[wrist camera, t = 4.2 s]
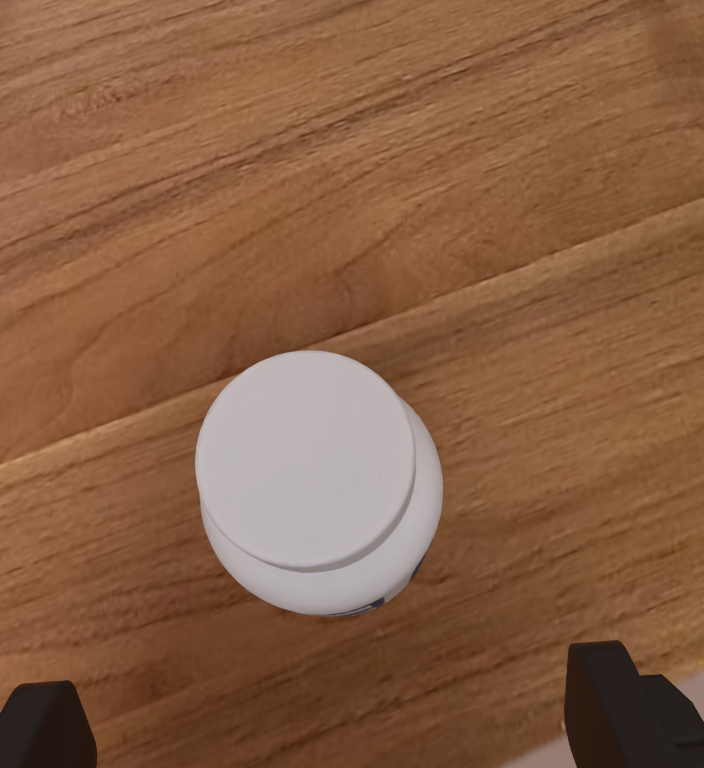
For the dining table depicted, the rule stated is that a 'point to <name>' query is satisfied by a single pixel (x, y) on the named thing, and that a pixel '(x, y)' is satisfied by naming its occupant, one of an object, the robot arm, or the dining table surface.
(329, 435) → the pill bottle
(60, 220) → the dining table surface
